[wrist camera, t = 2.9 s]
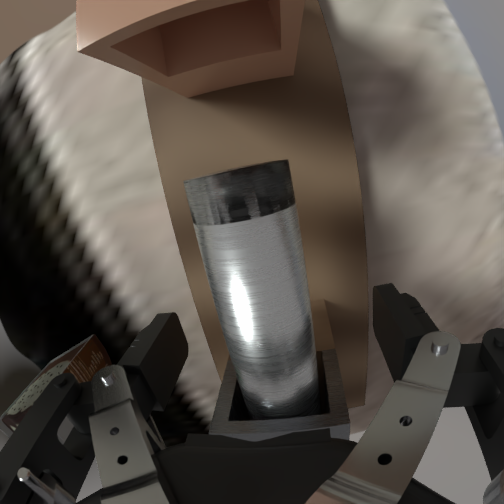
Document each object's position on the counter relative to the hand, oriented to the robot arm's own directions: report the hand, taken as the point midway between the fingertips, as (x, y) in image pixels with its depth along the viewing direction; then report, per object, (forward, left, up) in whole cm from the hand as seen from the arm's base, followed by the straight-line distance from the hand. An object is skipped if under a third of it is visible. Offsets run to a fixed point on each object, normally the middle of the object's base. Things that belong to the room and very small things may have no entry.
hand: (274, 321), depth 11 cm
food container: (-20, +4, -6) cm, 21 cm away
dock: (+1, +2, -6) cm, 6 cm away
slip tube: (-1, -2, 0) cm, 3 cm away
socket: (+7, +10, -5) cm, 13 cm away
